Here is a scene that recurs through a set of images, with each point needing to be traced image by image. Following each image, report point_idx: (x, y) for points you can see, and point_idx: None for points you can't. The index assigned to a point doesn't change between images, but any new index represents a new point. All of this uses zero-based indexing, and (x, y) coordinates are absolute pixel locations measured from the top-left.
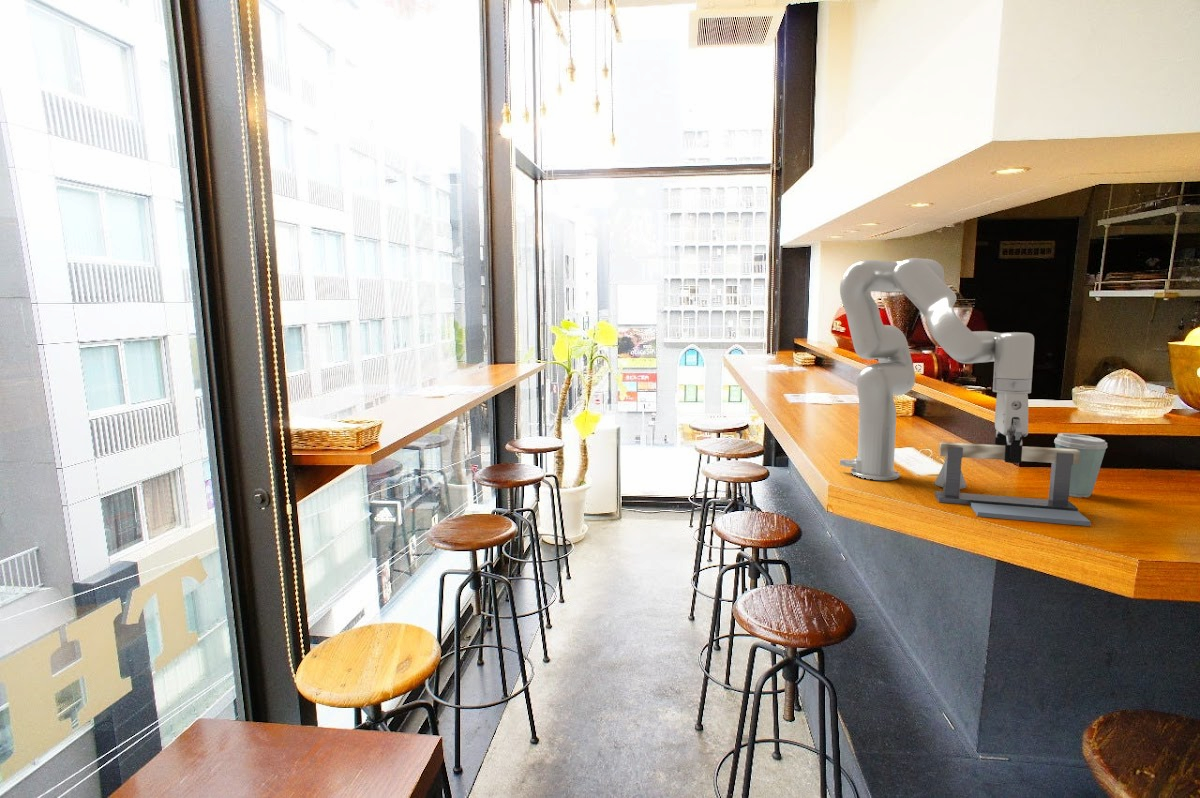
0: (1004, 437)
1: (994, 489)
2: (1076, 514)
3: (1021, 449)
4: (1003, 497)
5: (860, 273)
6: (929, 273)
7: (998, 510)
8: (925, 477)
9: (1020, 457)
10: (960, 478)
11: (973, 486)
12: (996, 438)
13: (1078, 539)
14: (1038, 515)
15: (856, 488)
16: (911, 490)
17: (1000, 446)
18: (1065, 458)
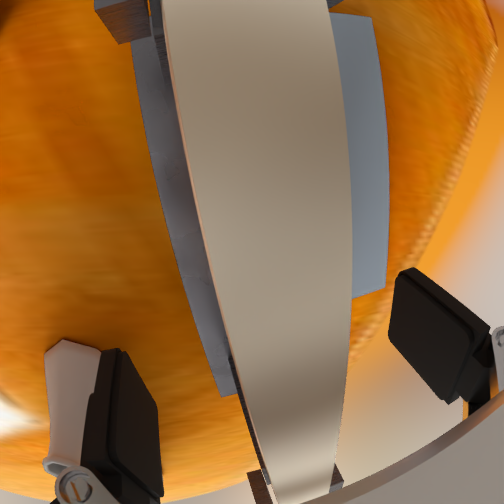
0: (131, 488)
1: (24, 266)
2: None
3: (472, 314)
4: (191, 239)
5: None
6: None
7: (358, 245)
8: (42, 412)
9: (432, 286)
10: (85, 376)
11: (34, 322)
12: (157, 497)
13: (458, 92)
14: (371, 142)
15: (241, 467)
16: (196, 424)
17: (317, 434)
18: None
